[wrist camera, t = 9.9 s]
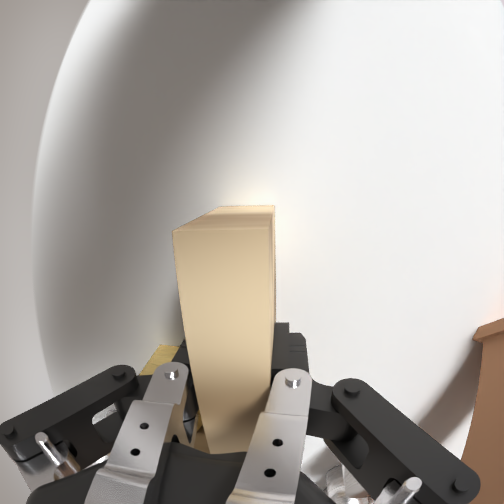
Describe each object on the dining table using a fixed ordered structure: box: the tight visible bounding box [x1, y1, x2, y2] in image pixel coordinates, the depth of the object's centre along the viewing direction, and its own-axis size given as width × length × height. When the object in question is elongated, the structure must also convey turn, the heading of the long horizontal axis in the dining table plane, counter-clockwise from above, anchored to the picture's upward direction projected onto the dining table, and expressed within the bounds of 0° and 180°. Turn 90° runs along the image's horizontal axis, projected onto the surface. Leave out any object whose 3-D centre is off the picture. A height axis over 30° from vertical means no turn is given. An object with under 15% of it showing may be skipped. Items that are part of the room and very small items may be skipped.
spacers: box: [83, 410, 370, 504], centre depth 16 cm, size 14×22×6 cm, turn 92°
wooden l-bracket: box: [109, 205, 276, 455], centre depth 12 cm, size 14×9×6 cm, turn 2°
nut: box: [139, 345, 203, 432], centre depth 15 cm, size 4×5×3 cm
